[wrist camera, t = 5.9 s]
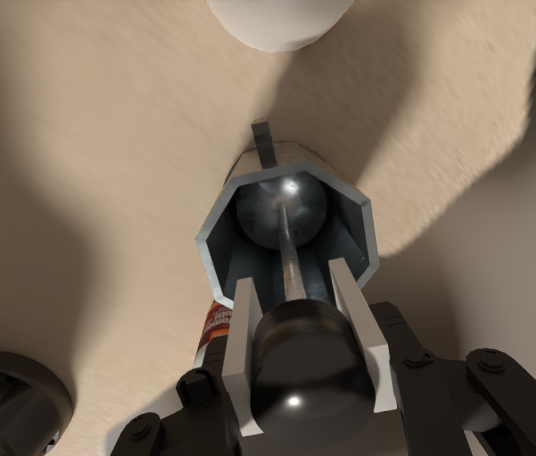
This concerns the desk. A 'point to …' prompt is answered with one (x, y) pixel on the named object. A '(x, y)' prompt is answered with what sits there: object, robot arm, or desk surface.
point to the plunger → (301, 329)
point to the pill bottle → (213, 329)
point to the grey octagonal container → (309, 254)
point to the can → (278, 21)
